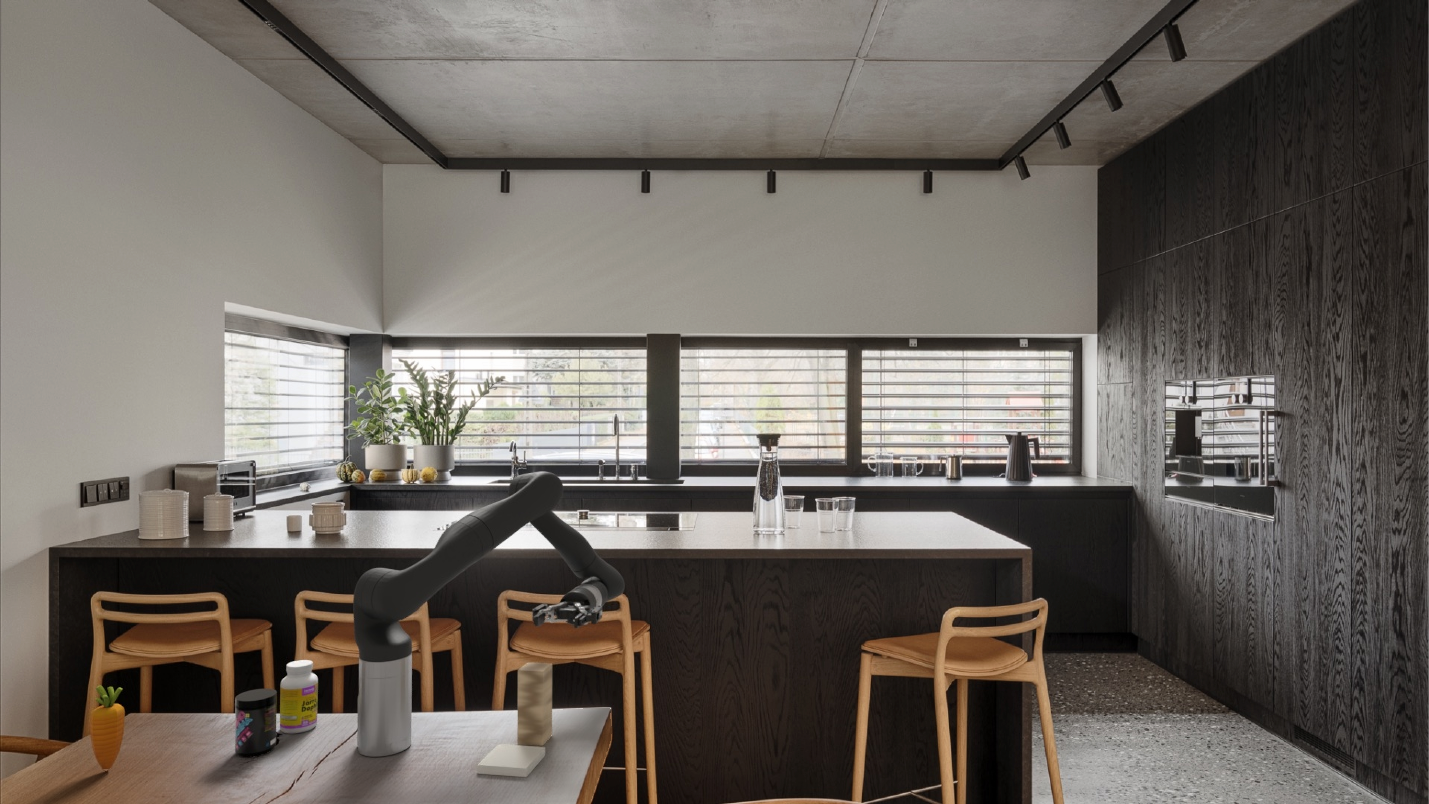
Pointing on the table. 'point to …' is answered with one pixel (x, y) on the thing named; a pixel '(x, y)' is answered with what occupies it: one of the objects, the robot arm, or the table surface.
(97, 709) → the carrot
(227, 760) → the table surface
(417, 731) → the table surface
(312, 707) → the supplement bottle
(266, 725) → the supplement container
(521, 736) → the oak block
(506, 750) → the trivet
